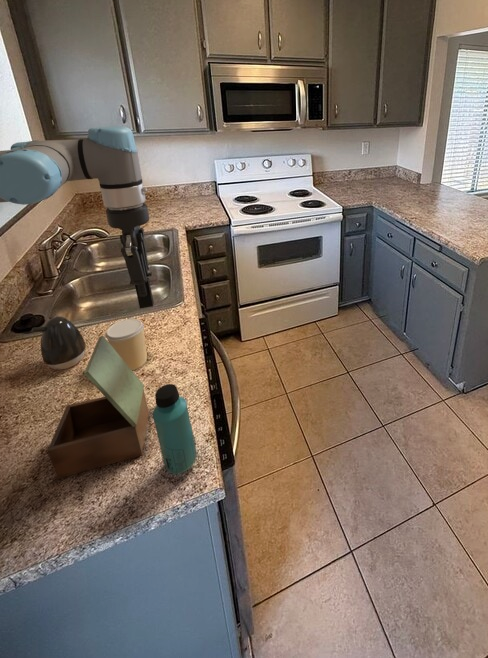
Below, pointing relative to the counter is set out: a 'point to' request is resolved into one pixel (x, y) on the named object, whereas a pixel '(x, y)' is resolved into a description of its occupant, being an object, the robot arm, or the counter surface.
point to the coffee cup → (128, 341)
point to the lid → (115, 380)
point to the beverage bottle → (174, 430)
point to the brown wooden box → (95, 437)
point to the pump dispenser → (61, 343)
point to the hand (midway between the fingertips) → (146, 305)
